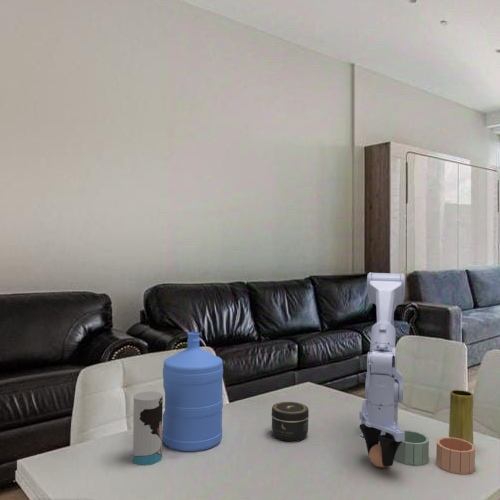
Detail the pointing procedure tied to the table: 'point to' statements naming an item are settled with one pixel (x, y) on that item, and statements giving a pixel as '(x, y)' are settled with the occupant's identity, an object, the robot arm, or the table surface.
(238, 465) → the table surface
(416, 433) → the green faceted bowl
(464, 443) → the salmon slatted bowl
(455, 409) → the vase
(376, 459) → the ball
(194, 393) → the water jug
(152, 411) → the white printed cylinder
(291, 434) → the jar
